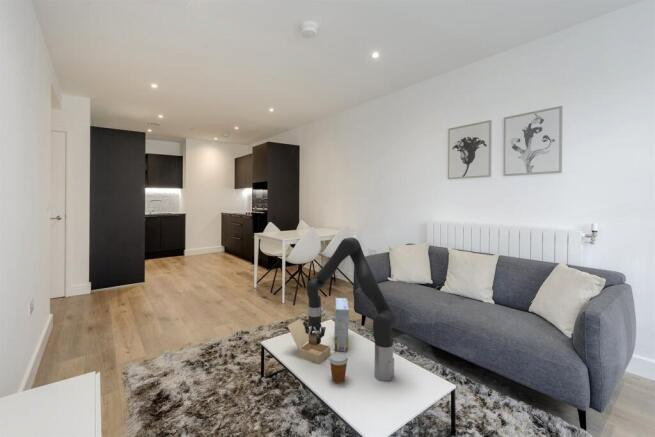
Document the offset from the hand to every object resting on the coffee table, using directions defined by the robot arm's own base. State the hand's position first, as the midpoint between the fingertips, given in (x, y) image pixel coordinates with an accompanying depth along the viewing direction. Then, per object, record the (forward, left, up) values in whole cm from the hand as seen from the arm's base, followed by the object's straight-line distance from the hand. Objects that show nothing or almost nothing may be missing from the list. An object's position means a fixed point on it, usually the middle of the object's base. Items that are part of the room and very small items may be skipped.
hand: (314, 342), depth 175 cm
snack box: (-5, -22, -8) cm, 24 cm away
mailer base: (0, 0, -8) cm, 8 cm away
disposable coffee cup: (-23, +12, -8) cm, 27 cm away
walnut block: (0, 0, 0) cm, 0 cm away
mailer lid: (+11, 0, +3) cm, 11 cm away
